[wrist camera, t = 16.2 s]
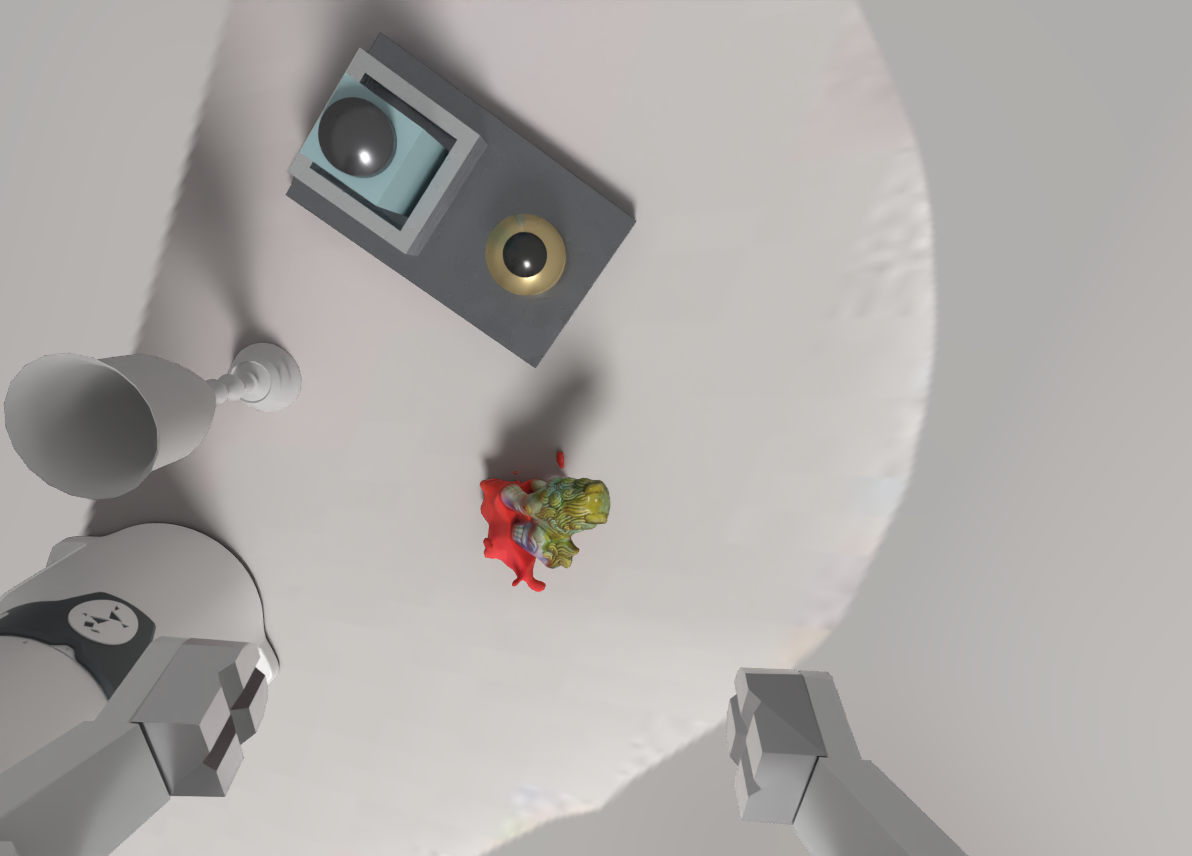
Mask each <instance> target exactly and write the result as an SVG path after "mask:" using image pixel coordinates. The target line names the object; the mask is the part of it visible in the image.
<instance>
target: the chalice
mask: <svg viewBox="0 0 1192 856" xmlns="http://www.w3.org/2000/svg"><path fill="white" fill-rule="evenodd" d="M300 388H301V375H300V371H299V367H298V365H297V364H296V362H295V360H294V359H293V357H292V356H291V355H290V354H288V353H287V352H286V351H285V350H284V349H282V348H280V347H278V346H276V345H274V344H269V343H263V342H262V343H256V344H251V345H249V346H247V347H245V348H244V349H242V350H241V351H240V352H239V353H238V355H237V356H236V357H235V359H234V361H233V363H232V365H231V366H230V369H229V371H228V374H225V375H223V376H221V377H220V378H219V379H218V380H216V379H209V380H207V381H205V380H204V379H202V378H201V377H199V376H198V375H196V374H195V373H193V372H192V371H190V370H188V369H186V368H184V367H182V366H180V365H178V364H176V363H173V362H170V361H167V360H164V359H161V358H158V357H153V356H148V355H143V354H135V355H126V356H118V357H111V358H105V359H98V360H97V359H95V358H92V357H87V356H82V355H77V354H71V353H63V354H55V355H45V356H43V357H41V358H39V359H37V360H35V361H33V362H31V363H29V364H27V365H25V366H24V367H23V368H22V370H21V371H20V372H19V373H18V374H17V375H16V377H15V378H14V379H13V380H12V381H11V383H10V386H9V390H8V392H7V396H6V399H5V402H4V409H5V426H6V429H7V432H8V434H9V437H10V439H11V442H12V444H13V447H14V449H15V450H16V452H17V453H18V455H19V456H20V457H21V459H22V460H23V461H24V463H25V464H26V465H27V467H28V468H29V469H30V470H31V471H33V472H34V473H35V474H36V475H37V476H39V477H40V478H41V479H42V480H43V481H45V482H46V483H47V484H48V485H50V486H52V487H55V488H57V489H59V490H61V491H63V492H65V493H67V494H69V495H72V496H77V497H82V498H88V499H93V500H97V499H107V498H117V497H119V496H121V495H123V494H125V493H127V492H130V491H132V490H134V489H136V488H137V487H138V486H139V485H140V484H141V483H142V482H143V481H144V480H145V479H146V478H147V476H148V475H149V474H150V473H151V471H153V470H156V469H158V468H161V467H163V466H165V465H168V464H170V463H173V462H175V461H177V460H179V459H181V458H183V457H186V456H188V455H189V454H190V453H191V452H192V451H193V450H194V449H195V448H196V447H197V446H198V445H199V443H200V442H201V441H202V439H203V438H204V436H205V435H206V433H207V432H208V430H209V427H210V425H211V422H212V420H213V416H214V412H215V408H216V404H221V403H223V402H224V401H225V400H226V399H227V400H230V401H235V400H239V401H240V402H241V403H243V404H245V405H247V406H250V407H252V408H254V409H256V410H258V411H263V412H276V411H281V410H283V409H285V408H287V407H289V406H290V405H291V404H292V403H293V402H294V400H295V399H296V398H297V396H298V393H299V391H300Z"/></svg>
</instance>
